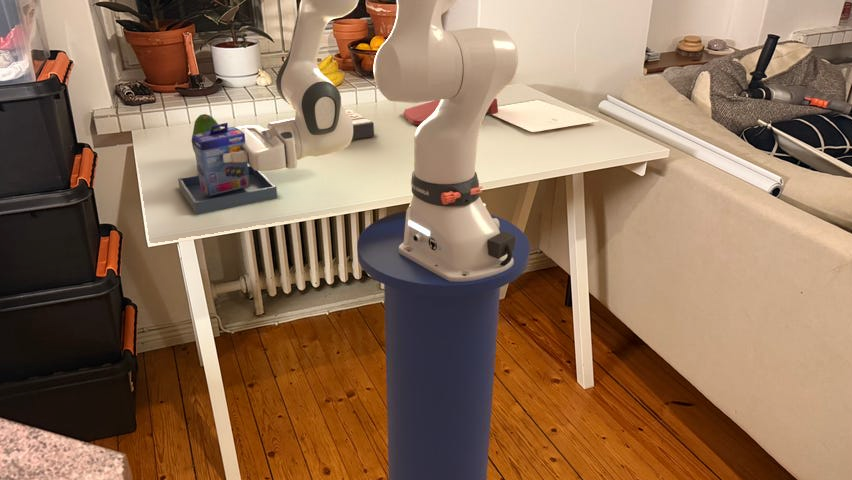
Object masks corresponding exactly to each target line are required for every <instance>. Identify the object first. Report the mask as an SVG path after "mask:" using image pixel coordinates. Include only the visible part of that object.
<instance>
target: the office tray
mask: <svg viewBox="0 0 852 480" xmlns="http://www.w3.org/2000/svg"><path fill="white" fill-rule="evenodd" d="M248 172H249V181H250V186H249V187H246V188H241V189H237V190H233V191H229V192H225V193H221V194H217V195H212V196H207V195H206V193H205V192H204V191H203V190H202V189H201V188H200V182H199V175H198V174H195V175H191V176H184V177H180V178H179V177H178V178H177V182H178V188H179V191H180V192H181V194H182V195H183V197H184V198H185V200H186V201H187V203H188V204H189V206H190V207H191V208H192V210H193V211H194V213H195V214H196V215H200V214H205V213H210V212H216V211H220V210H225V209H230V208H235V207H239V206H245V205H248V204H254V203H259V202H263V201H268V200H273V199H278V190H277V186H276V185H275V184H274V183H273V182H272V181H271V180H270V179H269V178H268V177H267V176H266V175H265V174H264V173H263V171H256V170H254V169H253V168H252V167H251V166H250V165H248Z"/></svg>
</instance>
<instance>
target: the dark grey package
mask: <svg viewBox="0 0 852 480" xmlns="http://www.w3.org/2000/svg"><path fill="white" fill-rule="evenodd" d="M345 112H346V113H347V114H348V115H349V116H350V118H351V120H352V123H353V137H352V140H351V141H353V140H358V139H359V140H360V139H366V138H371V137H375V126H374V125H375V123H374V122H373V121H372V120H370V119H369V118H366V117H365V116H363V115H361V114H359V113H357V112H356V111H354V110H352V109H346V110H345Z"/></svg>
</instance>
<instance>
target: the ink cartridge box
mask: <svg viewBox="0 0 852 480" xmlns="http://www.w3.org/2000/svg"><path fill="white" fill-rule="evenodd" d="M218 124H219V125H214V126H211V131H208V132H204V133H199V134H195V135H193V134H192V136H191V139H192V138H193V144H194V150H195V152H194V155H195V162H196V169H197V175H199V182H200V188H201V189H202V190H203V191H204V192H205V193H206V195H207V196H212V195H217V194H221V193H225V192H229V191H233V190H237V189H241V188H246V187H249V186H250V181H249V172H248V166H249V164H248V163H247V162H228V163H225V162H224V161H223V160H222V156H221V154H222V153H223V152H230V153H231V152H239V151H241V150H244V149H243V148H242V144H244V143H245V134H244V133H243V132H242V131H241V130H239V129H237V128H236V127H237V126H228V125H229V122H224V123H218ZM218 127H220V128H221V129H218V130H214V129H215V128H218ZM194 150H193V151H194Z"/></svg>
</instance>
